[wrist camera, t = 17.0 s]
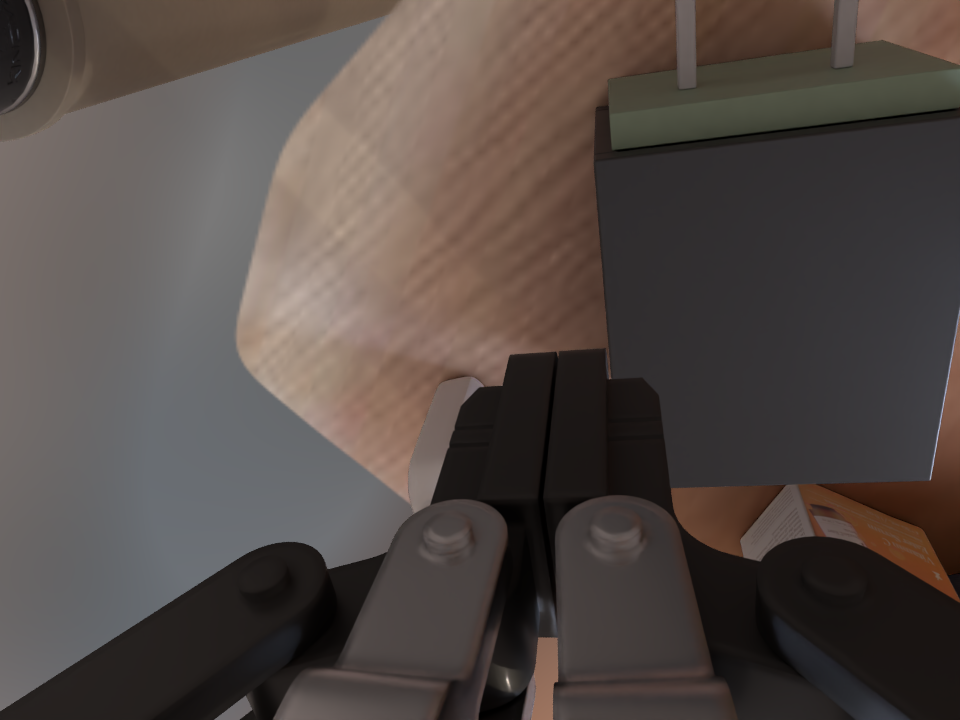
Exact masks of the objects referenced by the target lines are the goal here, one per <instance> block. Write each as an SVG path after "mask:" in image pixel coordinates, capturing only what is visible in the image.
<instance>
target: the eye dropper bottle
mask: <svg viewBox="0 0 960 720" xmlns="http://www.w3.org/2000/svg"><path fill="white" fill-rule="evenodd" d="M479 387H484V386H483V384H482V383H481V382H480V381H479V380H477V379H476V378H474V377H462V378H457V379H452V380H447V381H444V382H442V383H440V384H439V385H438V387H437V389H436V392H435V395H434V397H433V400H432V403H431V405H430V408H429V411H428V413H427V416H426V419H425V421H424V424H423V427H422V429H421V432H420V435H419V438H418V440H417V443H416V446H415V449H414V452H413V455H412V458H411V461H410V466H409V471H408V491H409V498H410V503H411V506H412V510H413V513H414V514H415V513H416V512H418V511H420V510H421V509H423V508H425V507H428V506H430V504H431V500H432V497H433V494H434V491H435V487H436V484H437V481H438V478H439V475H440V471H441V468H442V465H443V462H444V458H445V455H446V452H447V449H448V448H449V442H450V439H451V436H452V433H453V431H455V427H454V426H455V423H456V420H457V417H458V413H459V410H460V407H461V405H462V404H463V403H464V402H465V401H466V400H467V399H468V398H469V397H470V396H471V395H472V394H473V393H474V392H475V391H476V390H477V389H478V388H479Z"/></svg>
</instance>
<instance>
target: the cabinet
mask: <svg viewBox="0 0 960 720" xmlns="http://www.w3.org/2000/svg"><path fill="white" fill-rule="evenodd" d="M872 120H874V121H867V122H859V123H851V124H842V125H834V126H826V127H818V128H810V129H801V130H793V131H785V132H777V133H769V134H761V135H752V136H744V137H736V138H728V139H720V140H711V141H703V142H695V143H687V144H679V145H670V146H662V147H654V148H646V149H638V150H630V149H623V150H615V151H613V150H612V146H611V132H610V117H609V106H602V107H597V108H596V116H595V140H594V174H595V186H596V198H597V210H598V223H599V235H600V247H601V259H602V271H603V284H604V296H605V308H606V320H607V333H608V345H609V357H610V369H611V379H624V378H641V377H642V378H643V379H644V380H645V381H646V382H647V383H648V384H649V385H650V386H651V387H652V388H653V389H654V390H655V391H656V393H657V394H658V395H659V400H660V408H661V416H662V424H663V432H664V440H665V448H666V455H667V463H668V471H669V479H670V487H671V488H688V487H724V486H760V485H795V484H831V483H867V482H902V481H930V480H931V475H932V469H933V464H934V458H935V452H936V447H937V441H938V435H939V430H940V424H941V418H942V412H943V407H944V401H945V395H946V390H947V384H948V378H949V373H950V367H951V361H952V356H953V350H954V344H955V338H956V333H957V327H958V321H959V316H960V107H959V108H957V109H949V110H941V111H933V112H925V113H917V114H908V115H900V116H892V117H884V118H876V119H872Z"/></svg>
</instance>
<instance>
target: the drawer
mask: <svg viewBox="0 0 960 720" xmlns="http://www.w3.org/2000/svg"><path fill="white" fill-rule="evenodd" d="M858 2H859V0H835V2H834V16H833V31H832V45H831V48H824V49H817V50H810V51H803V52H796V53H789V54H782V55H775V56H768V57H761V58H754V59H747V60H740V61H733V62H726V63H719V64H712V65H705V66H698V67H696V6H695V0H675V9H676V48H677V70H670V71H663V72H656V73H649V74H642V75H635V76H628V77H621V78H614V79H609V80H608V94H609V117H610V132H611V146H612V150H613V151H615V150H623V149H630V150H638V149H646V148H654V147H662V146H670V145H679V144H687V143H695V142H703V141H711V140H720V139H728V138H736V137H744V136H752V135H761V134H769V133H777V132H785V131H793V130H801V129H810V128H818V127H826V126H834V125H842V124H851V123H859V122H867V121H874V120H872V119H876V118H884V117H892V116H900V115H908V114H917V113H925V112H933V111H941V110H949V109H957V108H959V107H960V65H957V64H954V63H951V62H948V61H945V60H942V59H939V58H936V57H933V56H930V55H927V54H924V53H921V52H917V51H914V50H911V49H908V48H905V47H902V46H899V45H896V44H893V43H890V42H887V41H884V40H880V41H873V42H866V43H859V44H855V38H856V26H857V14H858Z"/></svg>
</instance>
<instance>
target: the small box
mask: <svg viewBox="0 0 960 720" xmlns="http://www.w3.org/2000/svg"><path fill="white" fill-rule="evenodd" d="M810 536H822V537H833V538H838V539H843V540H847V541H851V542H854V543H857V544H859V545H862V546H864V547H867V548H869V549H871V550H873V551H875V552H876V553H878V554H880V555H882V556H883V557H885V558H887V559H888V560H890V561H892V562H893V563H895V564H897V565H898V566H900V567H902V568H903V569H905V570H907V571H908V572H910V573H911V574H913V575H915V576H916V577H918V578H920V579H921V580H923V581H925V582H926V583H928V584H930V585H931V586H933V587H935V588H936V589H938V590H940V591H941V592H943V593H945V594H946V595H948V596H950V597H951V598H953V599H955V600H956V601H958V602H960V599H959V597H958V595H957V594H956V592H955V590H954V588H953V586H952V584H951V582H950V580H949V578H948V576H947V574H946V572H945V570H944V569H943V567H942V565H941V563H940V561H939V559H938V557H937V555H936V553H935V552H934V550H933V548H932V546H931V544H930V542H929V540H928V538H927V536H926V534H925V533H924V531H923V530H922V529H921V528H919V527H917V526H914V525H911V524H909V523H906V522H903V521H901V520H898V519H895V518H893V517H890V516H888V515H886V514H883V513H881V512H879V511H876V510H874V509H871V508H869V507H867V506H865V505H863V504H860V503H858V502H856V501H853V500H851V499H849V498H846V497H844V496H842V495H840V494H837V493H835V492H833V491H830V490H828V489H826V488H823V487H821V486H819V485H816V484H795V485H786V486H785V487H784V489H783V490H782V491H781V492H780V493H779V494H778V496H777V497H776V498H775V499H774V500H773V501H772V503H771V504H770V505H769V506H768V507H767V508H766V510H765V511H764V512H763V513H762V514H761V516H760V517H759V518H758V519H757V520H756V522H755V523H754V524H753V525H752V526H751V528H750V529H749V530H748V531H747V532H746V534H745V535H744V536H743V537H742V538H741V540H740V543H741V547H742V552H743V557H744V558H748V559H752V560H757V561H761V560H762V558H763V557H764V556H765V554H766V553H767V552H768V551H770V550H771V549H772V548H773V547H775V546H777V545H779V544H781V543H783V542H785V541H788V540H791V539H795V538H801V537H810Z"/></svg>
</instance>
